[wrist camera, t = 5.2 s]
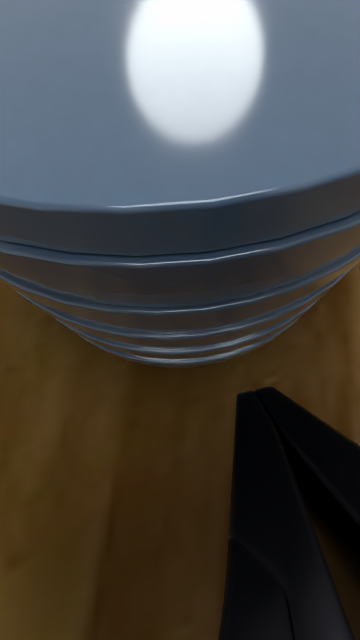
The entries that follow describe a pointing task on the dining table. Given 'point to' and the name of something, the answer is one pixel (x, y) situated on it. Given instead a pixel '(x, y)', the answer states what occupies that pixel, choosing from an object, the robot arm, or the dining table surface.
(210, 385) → the dining table surface
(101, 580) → the dining table surface
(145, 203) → the plate stack
